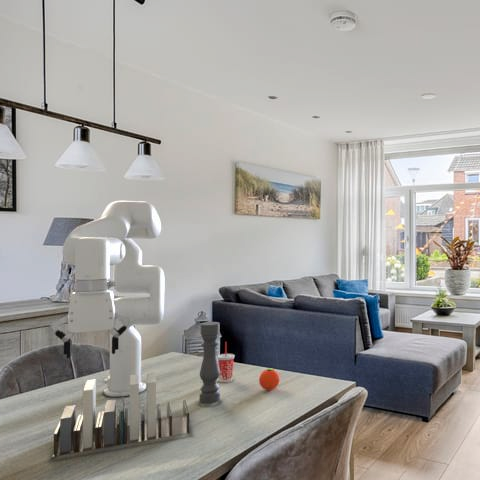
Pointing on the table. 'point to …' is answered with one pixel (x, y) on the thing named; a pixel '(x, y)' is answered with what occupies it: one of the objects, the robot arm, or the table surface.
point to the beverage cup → (225, 366)
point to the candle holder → (209, 364)
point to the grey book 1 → (67, 428)
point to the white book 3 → (151, 405)
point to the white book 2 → (134, 407)
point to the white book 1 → (89, 413)
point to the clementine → (269, 379)
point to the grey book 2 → (109, 422)
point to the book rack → (125, 429)
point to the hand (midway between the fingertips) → (91, 354)
